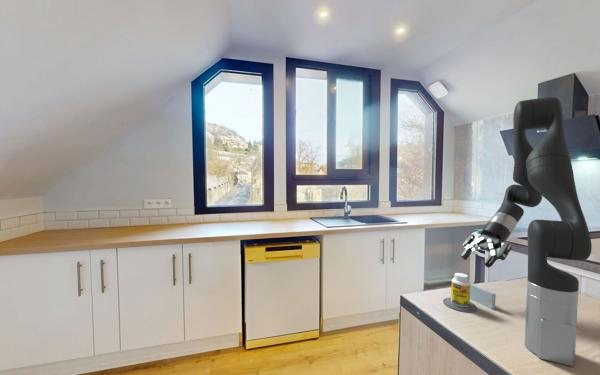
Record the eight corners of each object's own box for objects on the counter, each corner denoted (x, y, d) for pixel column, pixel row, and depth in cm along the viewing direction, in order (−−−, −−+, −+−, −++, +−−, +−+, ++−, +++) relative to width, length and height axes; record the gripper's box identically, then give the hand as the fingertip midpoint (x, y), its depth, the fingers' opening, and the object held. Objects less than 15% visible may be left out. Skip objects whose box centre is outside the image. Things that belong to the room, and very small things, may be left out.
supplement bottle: (449, 304, 90) (450, 275, 90) (452, 298, 95) (453, 270, 94) (468, 309, 87) (469, 279, 86) (470, 303, 91) (471, 274, 91)
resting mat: (479, 315, 84) (479, 314, 84) (443, 307, 89) (443, 306, 88) (474, 302, 93) (474, 301, 93) (442, 296, 97) (442, 295, 97)
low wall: (495, 308, 88) (495, 293, 88) (491, 309, 88) (492, 294, 88) (468, 295, 98) (469, 282, 98) (465, 296, 98) (466, 282, 97)
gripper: (475, 217, 101) (451, 249, 98) (515, 224, 87) (489, 261, 84) (485, 231, 103) (461, 262, 100) (526, 239, 89) (500, 276, 86)
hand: (474, 261), depth 92 cm, fingers open, 8 cm apart
